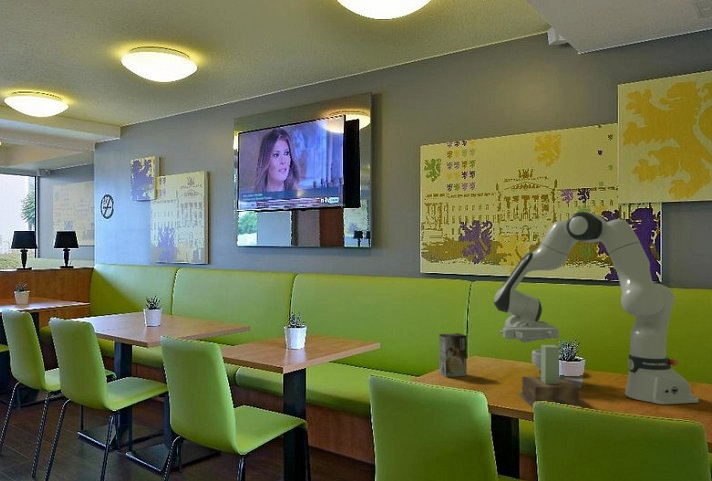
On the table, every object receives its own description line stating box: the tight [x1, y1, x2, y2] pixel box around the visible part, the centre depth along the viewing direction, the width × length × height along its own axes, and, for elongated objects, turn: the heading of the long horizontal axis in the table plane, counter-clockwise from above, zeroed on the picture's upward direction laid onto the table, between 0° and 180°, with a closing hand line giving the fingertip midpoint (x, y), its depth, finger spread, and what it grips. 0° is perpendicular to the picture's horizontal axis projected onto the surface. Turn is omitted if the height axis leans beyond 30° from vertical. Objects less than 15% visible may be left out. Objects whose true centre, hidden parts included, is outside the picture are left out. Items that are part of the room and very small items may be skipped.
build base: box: [518, 376, 583, 407], centre depth 188 cm, size 16×16×6 cm
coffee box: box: [438, 332, 468, 378], centre depth 224 cm, size 9×6×16 cm
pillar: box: [540, 344, 560, 384], centre depth 188 cm, size 4×4×12 cm
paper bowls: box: [531, 349, 541, 372], centre depth 233 cm, size 15×15×8 cm
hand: (536, 335), depth 203 cm, fingers open, 8 cm apart
